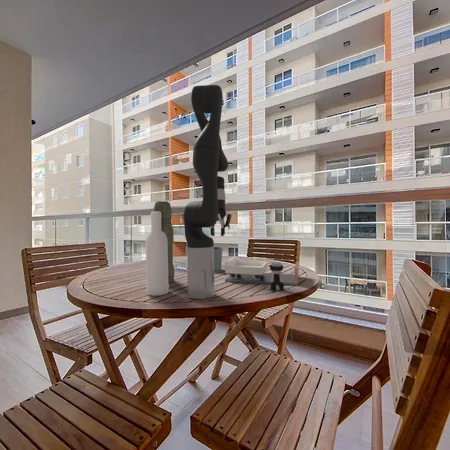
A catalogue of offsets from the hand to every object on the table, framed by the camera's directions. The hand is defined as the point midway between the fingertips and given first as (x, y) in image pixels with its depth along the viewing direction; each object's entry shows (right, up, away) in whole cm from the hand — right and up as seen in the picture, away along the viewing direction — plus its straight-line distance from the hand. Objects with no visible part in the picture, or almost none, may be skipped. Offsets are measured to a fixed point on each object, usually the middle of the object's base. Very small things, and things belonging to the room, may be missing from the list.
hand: (217, 235), depth 120 cm
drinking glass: (-3, -19, +17) cm, 26 cm away
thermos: (-23, -20, -8) cm, 32 cm away
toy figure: (+22, -19, -23) cm, 38 cm away
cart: (+14, -18, -4) cm, 23 cm away
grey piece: (+20, -19, -6) cm, 28 cm away
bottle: (-21, -20, -25) cm, 39 cm away
